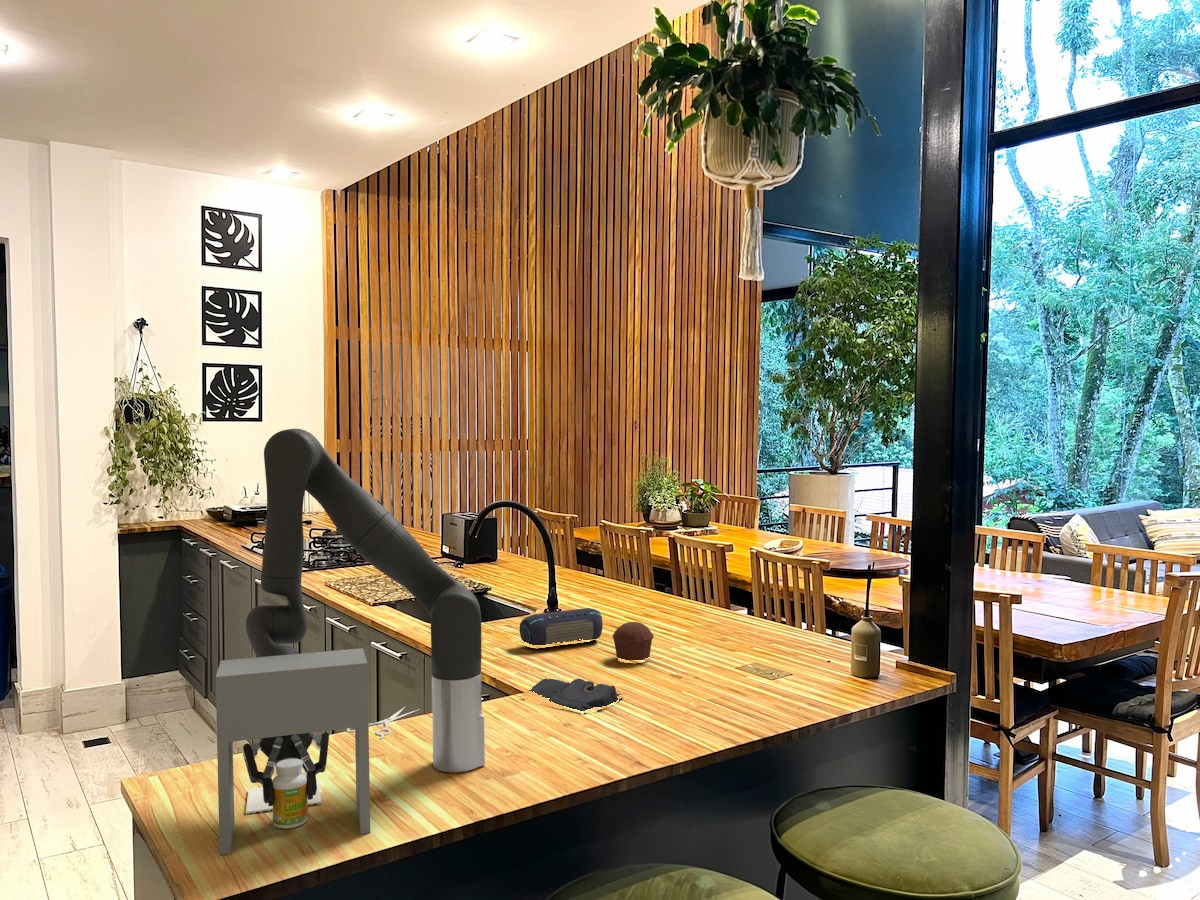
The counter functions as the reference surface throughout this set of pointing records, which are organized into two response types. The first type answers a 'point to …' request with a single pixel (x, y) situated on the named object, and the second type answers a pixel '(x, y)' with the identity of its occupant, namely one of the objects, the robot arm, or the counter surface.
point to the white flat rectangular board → (258, 804)
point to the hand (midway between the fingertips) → (291, 800)
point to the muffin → (633, 641)
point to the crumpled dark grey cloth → (576, 693)
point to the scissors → (385, 724)
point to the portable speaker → (561, 626)
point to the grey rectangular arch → (290, 713)
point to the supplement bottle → (289, 794)
